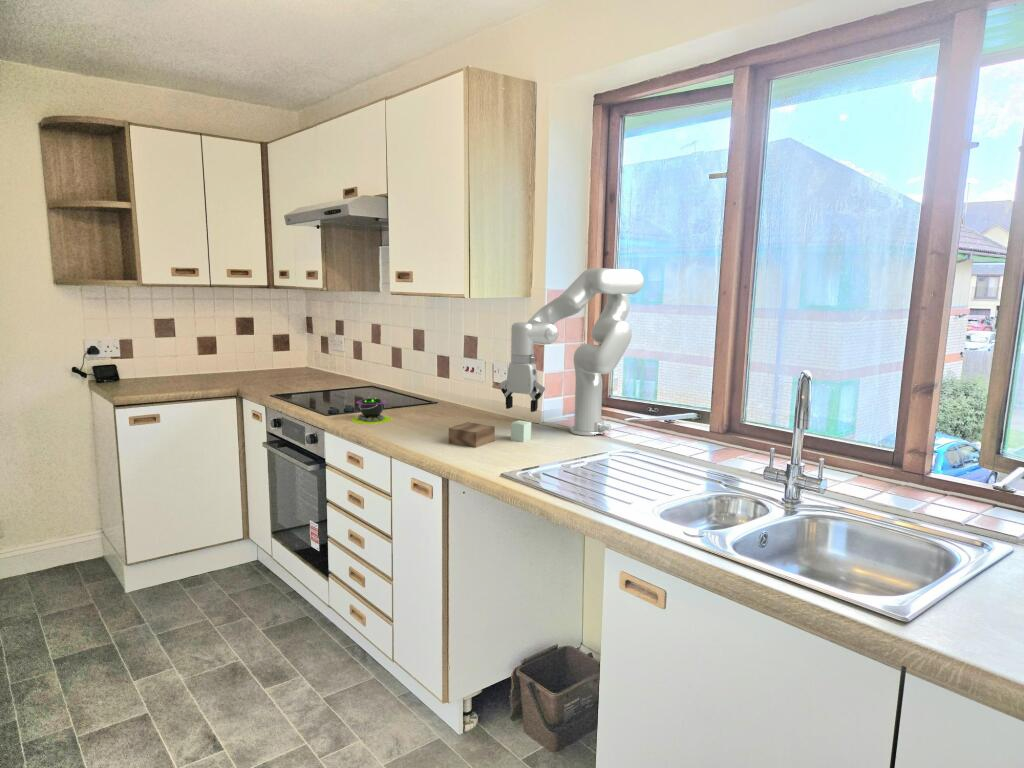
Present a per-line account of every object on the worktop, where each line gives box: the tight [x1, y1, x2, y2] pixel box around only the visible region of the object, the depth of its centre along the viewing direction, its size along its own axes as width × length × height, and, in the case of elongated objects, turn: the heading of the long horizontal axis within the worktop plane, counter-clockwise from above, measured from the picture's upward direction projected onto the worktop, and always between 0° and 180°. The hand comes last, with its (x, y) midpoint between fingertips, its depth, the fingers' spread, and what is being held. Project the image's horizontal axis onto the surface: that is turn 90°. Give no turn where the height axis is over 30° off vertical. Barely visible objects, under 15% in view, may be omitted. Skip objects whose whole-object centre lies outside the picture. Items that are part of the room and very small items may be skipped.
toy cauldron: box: [351, 391, 392, 425], centre depth 255 cm, size 15×15×11 cm
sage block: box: [510, 420, 532, 443], centre depth 227 cm, size 5×5×6 cm
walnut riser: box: [448, 421, 496, 448], centre depth 223 cm, size 11×11×5 cm
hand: (521, 409), depth 225 cm, fingers open, 9 cm apart
